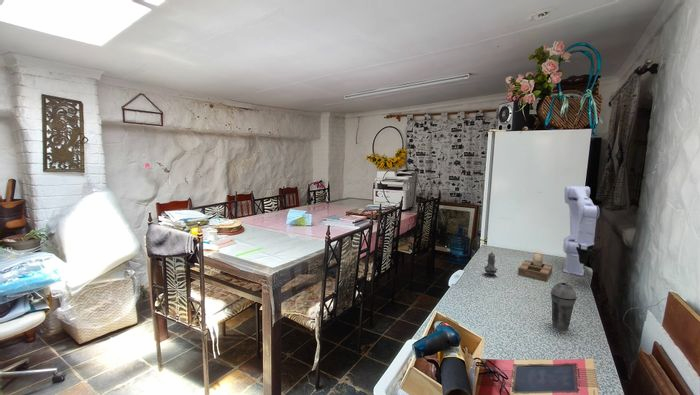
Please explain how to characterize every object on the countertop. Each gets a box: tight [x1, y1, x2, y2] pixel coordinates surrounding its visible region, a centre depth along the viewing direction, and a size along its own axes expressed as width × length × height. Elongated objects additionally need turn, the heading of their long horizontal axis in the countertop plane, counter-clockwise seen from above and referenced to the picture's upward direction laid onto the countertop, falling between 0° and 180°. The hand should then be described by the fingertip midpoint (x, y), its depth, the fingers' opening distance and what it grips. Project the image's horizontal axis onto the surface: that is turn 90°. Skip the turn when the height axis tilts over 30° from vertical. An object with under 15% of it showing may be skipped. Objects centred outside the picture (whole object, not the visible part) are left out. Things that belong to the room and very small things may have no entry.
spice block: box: [517, 259, 554, 282], centre depth 150 cm, size 15×12×4 cm
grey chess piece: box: [483, 251, 498, 278], centre depth 147 cm, size 6×6×12 cm
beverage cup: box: [550, 271, 577, 332], centre depth 102 cm, size 7×7×20 cm
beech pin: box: [532, 252, 544, 267], centre depth 152 cm, size 4×4×8 cm
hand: (583, 261), depth 137 cm, fingers open, 7 cm apart
